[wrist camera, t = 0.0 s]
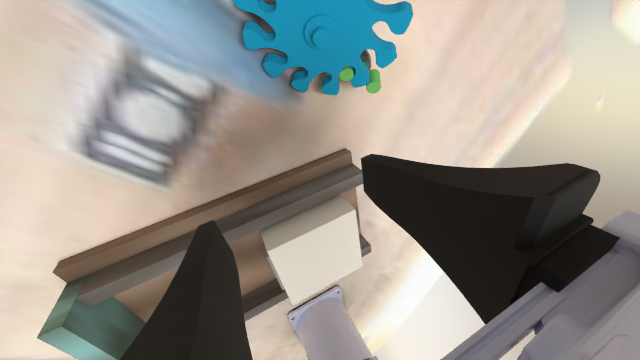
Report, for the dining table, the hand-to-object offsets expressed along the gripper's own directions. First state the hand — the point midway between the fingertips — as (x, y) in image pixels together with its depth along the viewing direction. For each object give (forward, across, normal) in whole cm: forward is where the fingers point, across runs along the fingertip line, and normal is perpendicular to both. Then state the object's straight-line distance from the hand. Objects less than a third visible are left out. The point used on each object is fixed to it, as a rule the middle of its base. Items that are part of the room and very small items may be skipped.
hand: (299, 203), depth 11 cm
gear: (+10, -6, -6) cm, 13 cm away
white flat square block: (+9, -1, +11) cm, 14 cm away
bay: (+10, +4, +11) cm, 15 cm away
